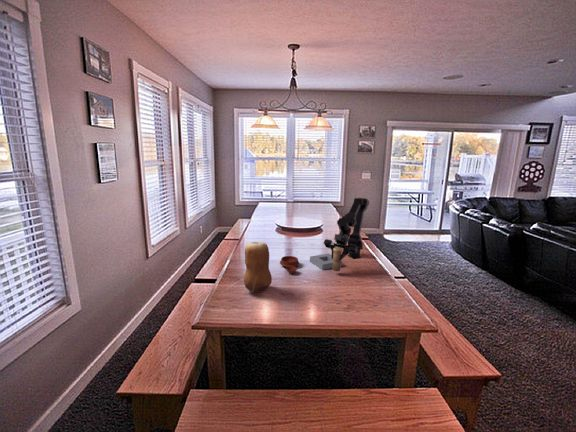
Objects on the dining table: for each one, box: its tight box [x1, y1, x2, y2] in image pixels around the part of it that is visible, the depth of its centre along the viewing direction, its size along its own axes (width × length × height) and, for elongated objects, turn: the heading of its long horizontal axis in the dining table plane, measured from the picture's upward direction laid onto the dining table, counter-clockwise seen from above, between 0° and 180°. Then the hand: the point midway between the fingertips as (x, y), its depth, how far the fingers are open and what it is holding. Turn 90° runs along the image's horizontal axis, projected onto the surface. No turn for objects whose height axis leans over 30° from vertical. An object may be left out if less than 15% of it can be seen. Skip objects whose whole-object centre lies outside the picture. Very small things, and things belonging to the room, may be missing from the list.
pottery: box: [279, 255, 300, 275], centre depth 173 cm, size 12×20×4 cm, turn 5°
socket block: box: [309, 253, 343, 271], centre depth 180 cm, size 14×14×4 cm
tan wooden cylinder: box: [331, 247, 343, 272], centre depth 164 cm, size 5×5×12 cm
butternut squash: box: [243, 241, 273, 293], centre depth 142 cm, size 14×13×25 cm
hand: (336, 259), depth 163 cm, fingers closed on tan wooden cylinder, 4 cm apart
